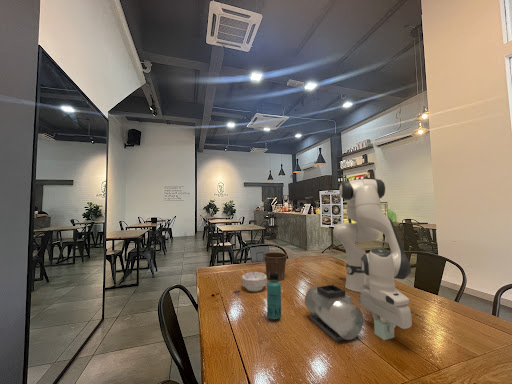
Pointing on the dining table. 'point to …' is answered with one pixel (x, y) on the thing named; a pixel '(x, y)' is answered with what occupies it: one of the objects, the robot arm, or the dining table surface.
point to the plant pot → (275, 264)
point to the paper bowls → (254, 281)
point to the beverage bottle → (274, 297)
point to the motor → (334, 312)
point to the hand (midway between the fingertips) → (384, 328)
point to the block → (382, 329)
